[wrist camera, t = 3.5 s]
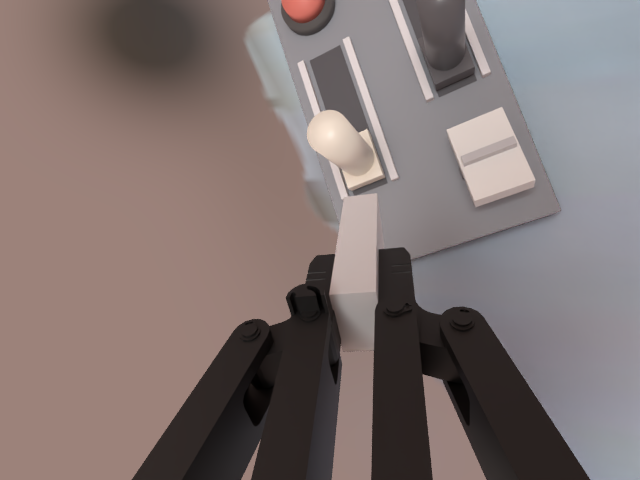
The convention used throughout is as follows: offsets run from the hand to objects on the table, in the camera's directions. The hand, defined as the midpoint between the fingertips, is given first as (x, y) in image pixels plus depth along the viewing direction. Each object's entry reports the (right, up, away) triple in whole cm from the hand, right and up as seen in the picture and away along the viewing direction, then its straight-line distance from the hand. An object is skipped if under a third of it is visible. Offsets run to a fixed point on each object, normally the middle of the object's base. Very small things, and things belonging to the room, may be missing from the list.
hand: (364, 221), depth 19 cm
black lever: (+8, +13, +13) cm, 20 cm away
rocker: (+10, +5, +11) cm, 16 cm away
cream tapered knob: (+1, +6, +15) cm, 16 cm away
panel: (+5, +12, +17) cm, 21 cm away
